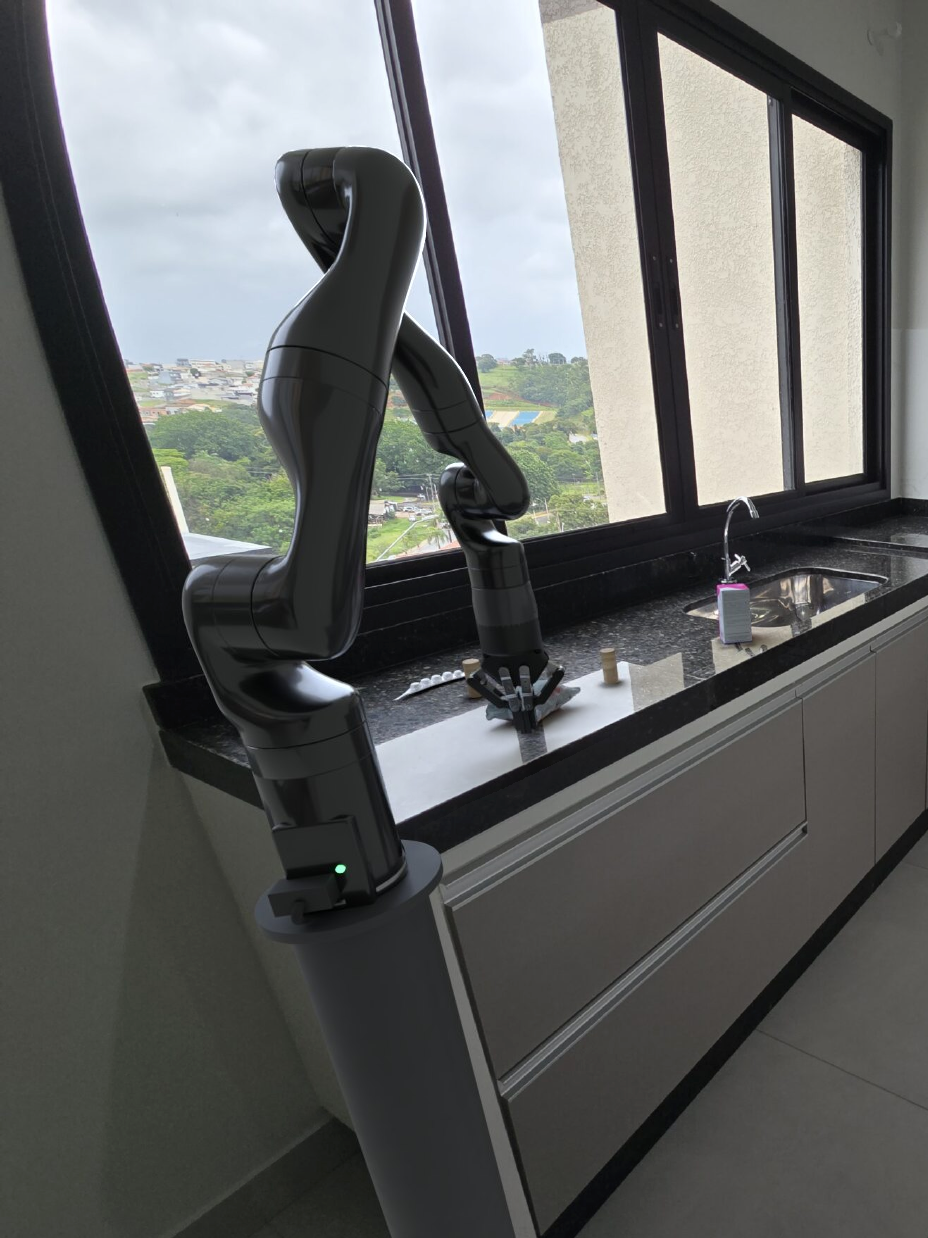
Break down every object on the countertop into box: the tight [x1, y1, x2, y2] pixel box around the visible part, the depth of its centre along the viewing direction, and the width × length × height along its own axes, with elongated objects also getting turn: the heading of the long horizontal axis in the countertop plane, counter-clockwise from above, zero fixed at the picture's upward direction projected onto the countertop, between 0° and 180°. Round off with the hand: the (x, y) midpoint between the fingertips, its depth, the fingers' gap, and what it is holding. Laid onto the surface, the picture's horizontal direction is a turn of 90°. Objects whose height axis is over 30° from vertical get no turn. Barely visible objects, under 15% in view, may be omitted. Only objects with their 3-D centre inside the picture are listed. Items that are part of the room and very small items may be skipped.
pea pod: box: [394, 669, 465, 702], centre depth 126 cm, size 15×4×2 cm, turn 151°
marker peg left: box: [462, 658, 483, 699], centre depth 122 cm, size 2×2×6 cm
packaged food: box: [485, 679, 581, 723], centre depth 114 cm, size 9×12×5 cm
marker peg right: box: [599, 647, 620, 685], centre depth 128 cm, size 2×2×6 cm
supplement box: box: [716, 583, 753, 646], centre depth 150 cm, size 6×6×12 cm
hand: (528, 731), depth 106 cm, fingers closed
